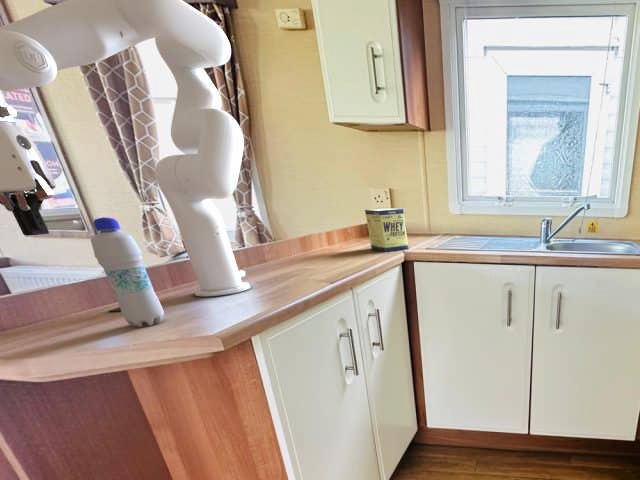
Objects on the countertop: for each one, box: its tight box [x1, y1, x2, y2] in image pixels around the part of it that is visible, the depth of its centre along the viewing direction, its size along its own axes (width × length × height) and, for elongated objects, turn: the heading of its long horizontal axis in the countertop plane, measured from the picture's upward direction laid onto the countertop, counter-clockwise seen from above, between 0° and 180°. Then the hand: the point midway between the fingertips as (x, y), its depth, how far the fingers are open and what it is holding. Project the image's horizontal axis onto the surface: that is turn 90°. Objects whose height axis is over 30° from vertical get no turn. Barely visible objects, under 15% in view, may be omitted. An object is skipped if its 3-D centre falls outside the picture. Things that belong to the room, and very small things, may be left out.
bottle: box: [90, 216, 165, 328], centre depth 81 cm, size 7×7×20 cm
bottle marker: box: [108, 306, 121, 313], centre depth 97 cm, size 5×5×1 cm
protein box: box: [364, 208, 409, 252], centre depth 175 cm, size 10×16×16 cm
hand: (36, 234), depth 76 cm, fingers closed
